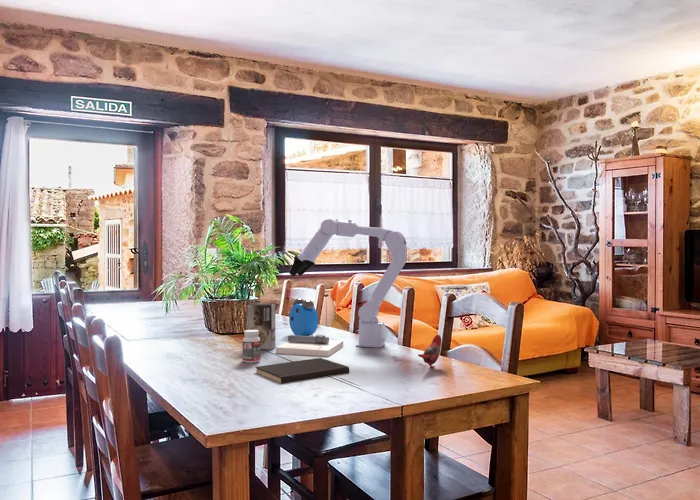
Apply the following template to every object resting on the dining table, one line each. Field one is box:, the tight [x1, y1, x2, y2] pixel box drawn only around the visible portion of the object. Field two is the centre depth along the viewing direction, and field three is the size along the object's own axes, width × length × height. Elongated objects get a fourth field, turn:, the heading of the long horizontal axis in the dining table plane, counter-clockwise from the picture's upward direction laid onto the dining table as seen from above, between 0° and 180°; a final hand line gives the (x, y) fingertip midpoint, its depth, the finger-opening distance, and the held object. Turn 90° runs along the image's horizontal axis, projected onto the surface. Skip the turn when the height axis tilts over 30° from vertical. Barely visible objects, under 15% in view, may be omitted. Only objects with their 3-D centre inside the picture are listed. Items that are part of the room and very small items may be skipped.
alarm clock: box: [288, 298, 319, 336], centre depth 237 cm, size 13×6×15 cm, turn 38°
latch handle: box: [287, 334, 330, 344], centre depth 211 cm, size 15×4×2 cm, turn 75°
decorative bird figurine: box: [417, 334, 442, 370], centre depth 177 cm, size 3×18×10 cm, turn 150°
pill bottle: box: [241, 329, 261, 364], centre depth 188 cm, size 6×6×10 cm
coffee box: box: [246, 302, 277, 350], centre depth 211 cm, size 9×6×16 cm
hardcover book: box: [255, 357, 350, 385], centre depth 173 cm, size 16×23×2 cm
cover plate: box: [275, 339, 344, 357], centre depth 208 cm, size 19×19×2 cm
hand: (295, 274), depth 223 cm, fingers open, 7 cm apart
